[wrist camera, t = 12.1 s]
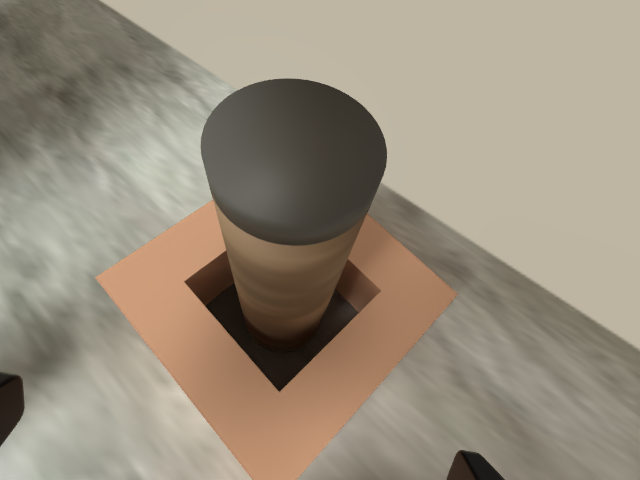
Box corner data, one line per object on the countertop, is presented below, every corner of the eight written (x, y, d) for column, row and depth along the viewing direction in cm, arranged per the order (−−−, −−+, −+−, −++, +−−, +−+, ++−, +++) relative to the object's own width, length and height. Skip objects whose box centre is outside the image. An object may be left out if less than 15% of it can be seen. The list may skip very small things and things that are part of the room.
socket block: (273, 489, 16) (273, 506, 12) (128, 306, 19) (95, 277, 15) (425, 318, 20) (458, 294, 17) (289, 190, 23) (292, 146, 20)
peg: (246, 357, 18) (201, 230, 7) (242, 281, 20) (200, 79, 9) (326, 346, 19) (406, 214, 7) (315, 274, 21) (366, 77, 9)
